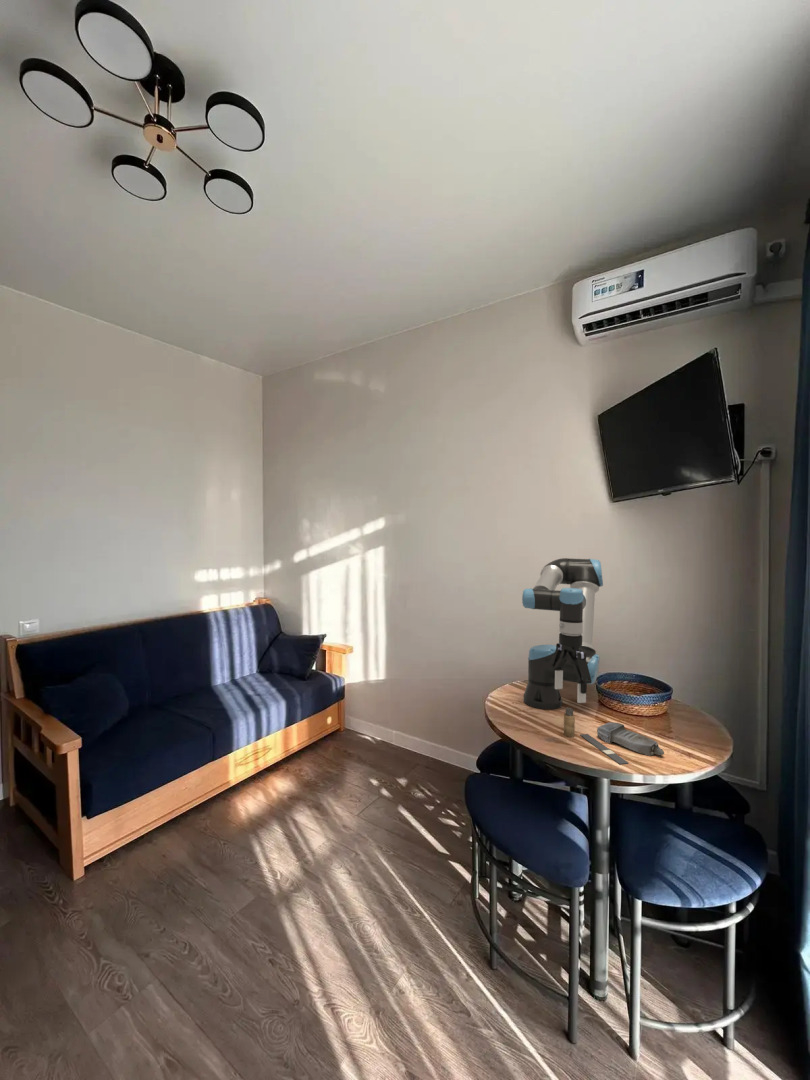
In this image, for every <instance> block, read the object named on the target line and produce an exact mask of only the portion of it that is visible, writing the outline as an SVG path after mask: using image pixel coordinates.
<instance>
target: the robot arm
mask: <svg viewBox="0 0 810 1080" xmlns="http://www.w3.org/2000/svg"><path fill="white" fill-rule="evenodd" d="M539 575H540V577H539V578H538V580H537V581H536V584H535V585H534V587H533V588H532V587H531V588H524V589H523V591H522V597H521V599H522V601H521V603H522V606H523V607H524V608H525V609H531V610H539V611H540V610H542V611H553V612H559V630H558V631H559V632H560V633H559V634H558V643H556V644H555V645H554V644H539V645H538V644H537V645H534V646H531V647H530V648H529V650H528V657H527V660H528V666H527V667H528V668H527V669H528V676H527V681H528V682H527V685H526V688H525V690H524V693H523V703H525V704H526V705H527V706H530V707H532V708H535V709H541V710H556V709H560V708H561V707H562V706H563V698H562V695H561V692H560V690H563V688H564V686H563V685H564V684H563V683H564V682H569V683H575V684H576V683H577V688H576V689H577V691H576V692H577V697H576V701H577V704H586V703H587V690H588V689H587V687H588V685H593V684H595V683H596V681H597V677H598V672H599V668H600V667H599V666H600V659H601V658H600V655H599V654H597V653H596V652H597V650H596V649H595V648H594V647H593V636H594V634H593V633H594V617H595V601H596V598H595V597H596V593H598V592H599V591H600V587H603V586H604V581H603V571H602V564H601V561H600V560H599V559H594V558H593V559H592V558H569V557H568V558H567V557H562V558H558V559H555V560H552V561H550V562H548V563H547V564H545V565H544V566H543V567H542V569H541V571H540V574H539ZM559 585H569V587H565V588H564V587H562V588H561V589H560V590H557V589H556V588H557V586H559Z"/></svg>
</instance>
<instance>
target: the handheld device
mask: <svg viewBox="0 0 810 1080" xmlns="http://www.w3.org/2000/svg"><path fill="white" fill-rule="evenodd" d="M596 731H597V732H596V733H597V735H598V737H599V738H600V739H601V740H602V741H603V742H604V743H607V744H612V743H615V744H618V745H619V746H622V747H624V748H626V749H629V750H631V751H633V752H636V753H638V754H641V755H644V756H649V757H652V756H654V755H657V756H664V755H665V752H664V750H663V749H662V748H661V747H659V743H658V742H657V741H656V740H653V739H652V738H650V737H647V736H646V735H643V734H639V733H637V732H634V731H631V730H629V729H627V728H625V725H624V724H623V723H620V722H613V721H612V722H611V721H610V722H607V723H604V724H602V725H600V726H598V727H597V729H596Z"/></svg>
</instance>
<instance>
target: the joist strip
mask: <svg viewBox="0 0 810 1080" xmlns="http://www.w3.org/2000/svg"><path fill="white" fill-rule="evenodd" d="M579 737H582V739H584V740H585V741H587V742H588V743H590V744H591V745H592V746H594V747H595V748H597V750H599V751H600V752H602V753H603V754H605V755H606V756H607V757H609V758H610V759H611V760H613V761H614V762H615V763H617V764H618V765H628V764H629V762H628V761H627V760H625V759H624V758H623V757H621V756H619V755H618V754H617V753H616V752H614V751H613V750H612V749H610V748H608V747H607V746H606V745H604V744H603V743H602V742H600V741H598V740H597V739H596V738H594V737H593V736H592V735H590V734H588V733H583V734H579Z"/></svg>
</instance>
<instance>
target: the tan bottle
mask: <svg viewBox="0 0 810 1080" xmlns="http://www.w3.org/2000/svg"><path fill="white" fill-rule="evenodd" d="M575 721H576V715H575V714H574V709H573V708H572V707H565V712H564V713H563V736H565V737H567V738H574V737H575V728H576V727H575V726H576V725H575Z"/></svg>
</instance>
